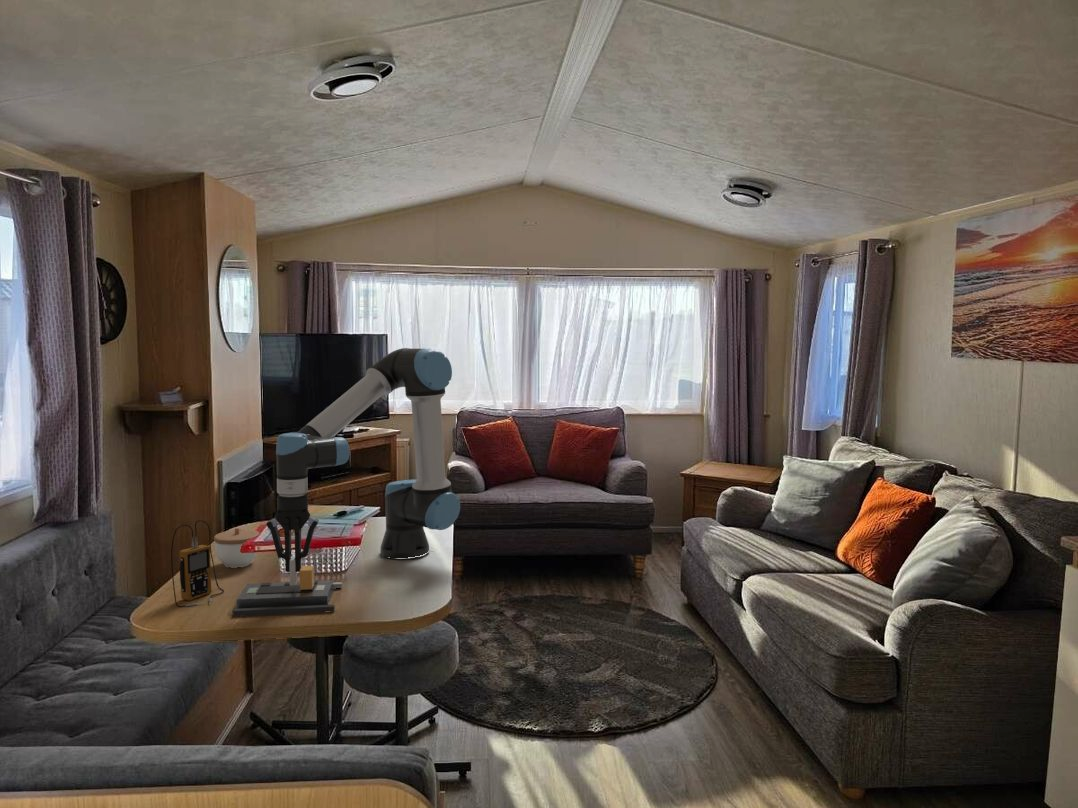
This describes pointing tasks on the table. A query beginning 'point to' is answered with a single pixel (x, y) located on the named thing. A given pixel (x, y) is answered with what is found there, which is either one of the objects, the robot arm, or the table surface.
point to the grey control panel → (284, 595)
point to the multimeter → (195, 570)
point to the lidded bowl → (234, 547)
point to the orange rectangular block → (306, 577)
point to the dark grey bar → (282, 610)
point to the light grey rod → (337, 585)
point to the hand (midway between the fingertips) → (293, 583)
